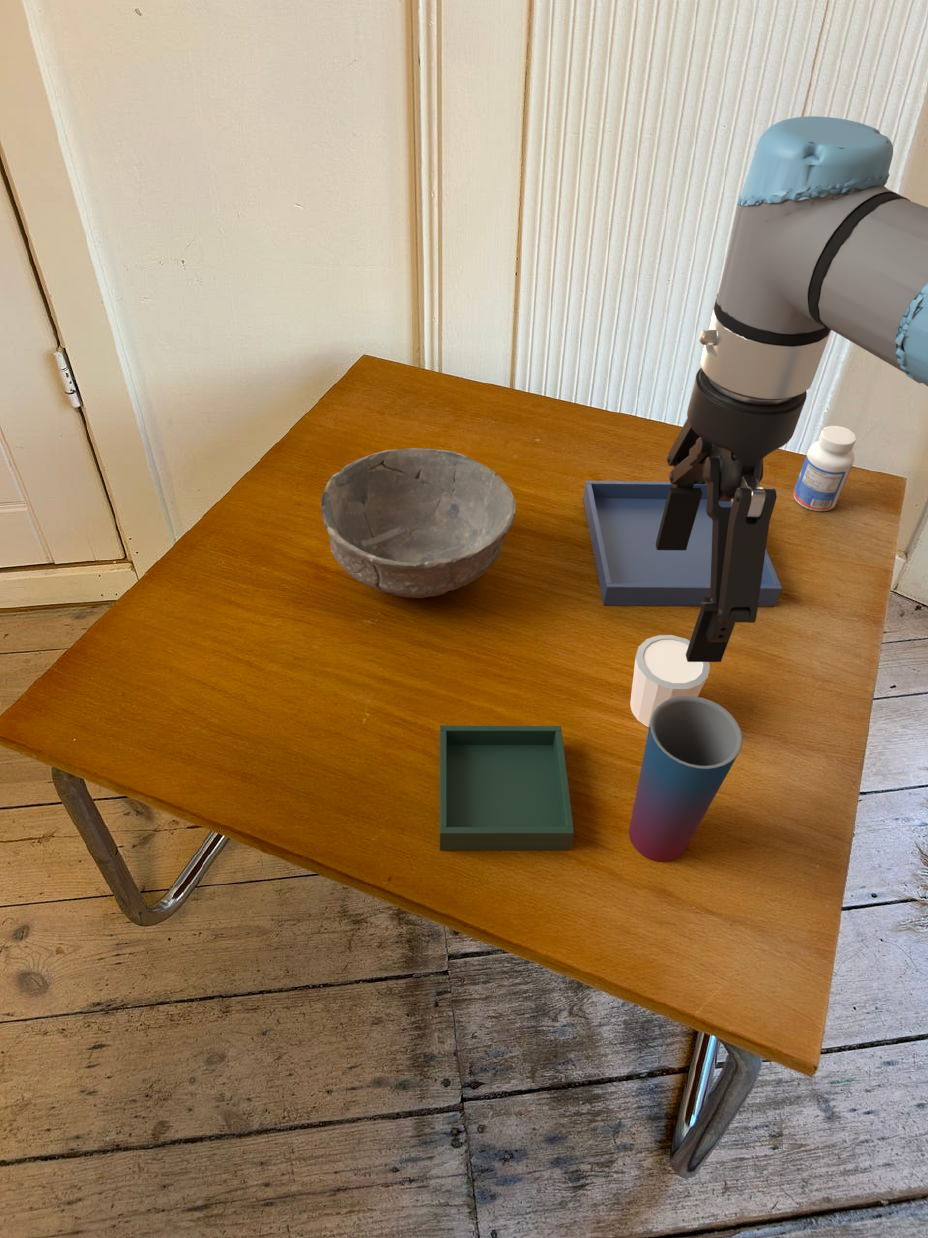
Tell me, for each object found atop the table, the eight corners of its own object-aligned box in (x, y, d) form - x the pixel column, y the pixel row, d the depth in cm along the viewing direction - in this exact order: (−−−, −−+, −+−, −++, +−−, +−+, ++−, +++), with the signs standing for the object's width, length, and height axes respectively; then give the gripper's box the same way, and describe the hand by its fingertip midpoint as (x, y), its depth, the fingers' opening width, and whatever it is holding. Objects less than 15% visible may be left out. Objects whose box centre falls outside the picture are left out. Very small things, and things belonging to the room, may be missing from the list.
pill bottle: (808, 481, 112) (833, 416, 105) (844, 501, 109) (872, 436, 103) (783, 497, 110) (807, 432, 103) (819, 518, 107) (846, 452, 100)
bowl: (536, 543, 102) (544, 474, 95) (463, 659, 89) (466, 589, 81) (382, 495, 108) (379, 426, 100) (291, 597, 94) (280, 526, 87)
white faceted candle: (695, 740, 82) (712, 693, 77) (622, 730, 83) (635, 683, 78) (692, 686, 87) (709, 638, 82) (624, 677, 88) (636, 629, 83)
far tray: (775, 606, 95) (782, 588, 93) (603, 605, 95) (606, 586, 93) (733, 500, 109) (739, 482, 107) (583, 498, 108) (585, 480, 106)
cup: (708, 824, 76) (754, 719, 65) (681, 886, 71) (725, 783, 61) (636, 790, 78) (669, 682, 67) (606, 847, 74) (636, 742, 63)
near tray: (570, 850, 74) (574, 833, 72) (439, 850, 73) (439, 833, 71) (558, 743, 81) (561, 725, 79) (439, 743, 81) (439, 725, 79)
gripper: (664, 294, 67) (620, 508, 83) (745, 487, 50) (670, 714, 65) (759, 296, 68) (697, 509, 83) (871, 489, 50) (768, 714, 65)
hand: (685, 599), depth 74 cm, fingers open, 13 cm apart
